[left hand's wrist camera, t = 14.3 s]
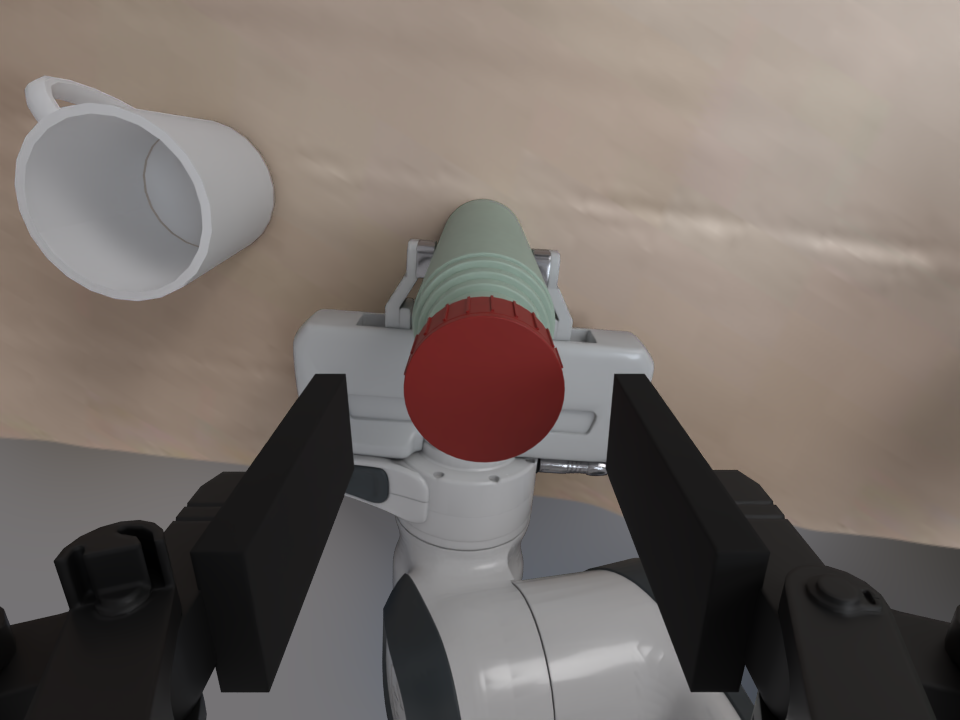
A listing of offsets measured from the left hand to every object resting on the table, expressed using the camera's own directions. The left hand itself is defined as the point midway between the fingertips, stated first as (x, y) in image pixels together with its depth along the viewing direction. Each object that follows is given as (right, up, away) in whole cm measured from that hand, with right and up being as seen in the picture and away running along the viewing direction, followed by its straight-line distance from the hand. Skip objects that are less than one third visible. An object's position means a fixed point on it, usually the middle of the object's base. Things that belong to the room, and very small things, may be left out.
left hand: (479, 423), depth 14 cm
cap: (0, +1, +1) cm, 2 cm away
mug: (-17, +13, +21) cm, 31 cm away
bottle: (0, +9, +23) cm, 25 cm away
